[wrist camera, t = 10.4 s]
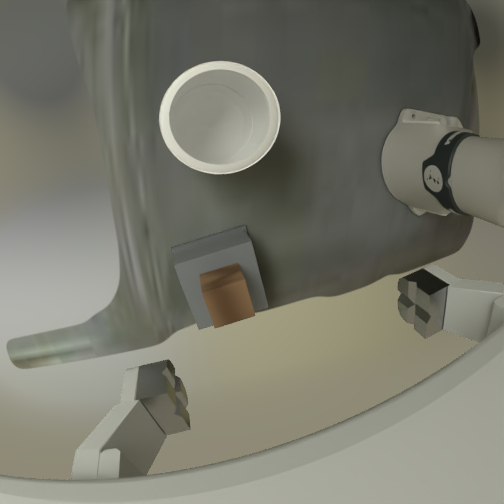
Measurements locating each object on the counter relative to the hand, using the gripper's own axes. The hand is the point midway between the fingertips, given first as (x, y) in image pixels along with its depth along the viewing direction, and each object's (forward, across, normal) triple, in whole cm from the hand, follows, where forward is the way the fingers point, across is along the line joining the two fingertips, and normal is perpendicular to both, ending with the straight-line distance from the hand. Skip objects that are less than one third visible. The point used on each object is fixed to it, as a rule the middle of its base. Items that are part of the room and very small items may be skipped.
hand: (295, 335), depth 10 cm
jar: (+34, -2, -8) cm, 35 cm away
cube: (+28, +2, +12) cm, 30 cm away
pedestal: (+34, +2, +12) cm, 36 cm away
